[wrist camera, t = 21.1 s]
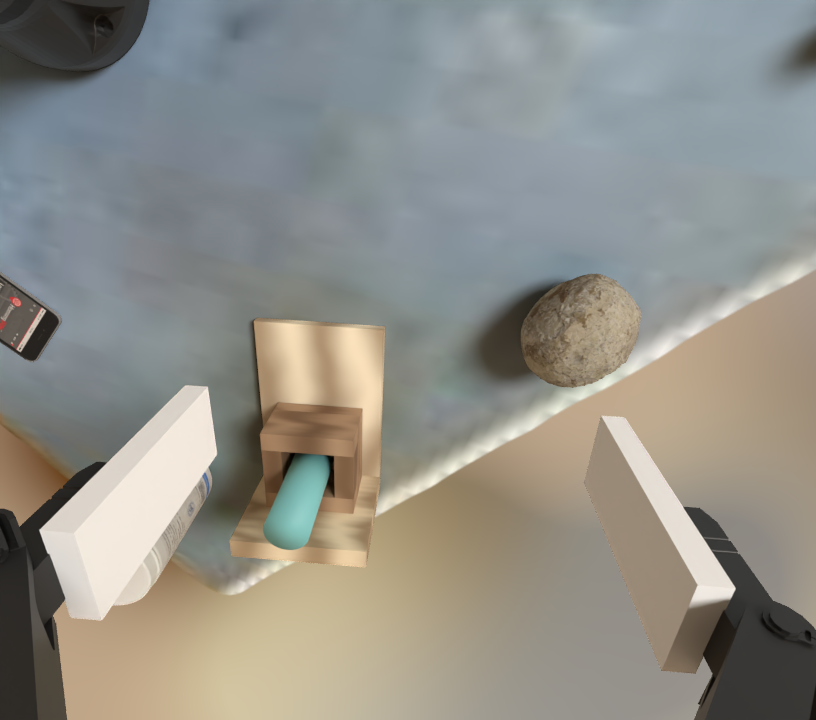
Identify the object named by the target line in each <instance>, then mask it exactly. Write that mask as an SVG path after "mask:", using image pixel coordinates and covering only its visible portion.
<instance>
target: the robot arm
mask: <svg viewBox="0 0 816 720" xmlns="http://www.w3.org/2000/svg"><path fill="white" fill-rule="evenodd" d="M148 6H149V0H0V45H1V46H2V47H4V48H5V49H7V50H8V51H10V52H12V53H13V54H15V55H17V56H19V57H21V58H23V59H26V60H28V61H30V62H33V63H36V64H39V65H42V66H46V67H51V68H56V69H62V70H68V71H91V70H96V69H100V68H103V67H105V66H108V65H110V64H112V63H113V62H115V61H116V60H118V59H119V58H120V57H122V56H123V55H124V54H125V53H126V52H127V51H128V50H129V49H130V47H131V46H132V45H133V43H134V42H135V41H136V39H137V37H138V35H139V33H140V31H141V29H142V27H143V24H144V22H145V18H146V15H147V10H148ZM216 455H217V449H216V442H215V435H214V428H213V421H212V414H211V407H210V400H209V393H208V387H202V386H188V385H185V386H184V387H183V388H182V389H181V390H180V391H179V392H178V393H177V394H176V395H175V396H174V397H173V398H172V399H171V400H170V401H169V402H168V403H167V404H166V405H165V406H164V407H163V408H162V409H161V410H160V411H159V412H158V413H157V414H156V415H155V416H154V417H153V418H152V419H151V420H150V421H149V422H148V423H147V424H146V425H145V426H144V427H143V428H142V429H141V430H140V431H139V432H138V433H137V434H136V435H135V436H134V437H133V438H132V439H131V440H130V441H129V442H128V443H127V444H126V445H125V446H124V447H123V448H122V449H121V450H120V451H119V452H118V453H117V454H116V455H115V456H114V457H113V458H112V459H111V460H110V461H109V462H107V463H104V462H96V463H94V464H92V465H90V466H88V467H87V468H85V469H83V470H81V471H80V472H78V473H76V474H75V475H74V476H73V477H72V478H71V479H70V480H69V481H68V482H67V483H66V484H65V485H64V486H63V489H59V490H58V491H57V492H56V493H55V494H54V495H53V496H52V499H51V500H50V499H49V500H48V501H47V502H46V503H45V504H43V505H42V506H41V507H40V508H39V509H38V510H37V511H36V512H35V513H34V514H33V515H32V516H31V517H30V518H28V519H27V520H26V521H25V522H24V523H23V524H22V525H21V526H20V527H19V525H18V523H17V520H16V517H15V516H14V514H13V512H12V511H9V510H6V509H0V720H67V715H66V706H65V698H64V689H63V681H62V671H61V663H60V654H59V645H58V636H57V628H56V623H55V620H54V617H53V614H54V613H55V611H56V610H57V609H58V608H59V607H60V605H61V604H62V603H63V602H64V601H65V603H66V606H67V609H68V612H69V614H70V617H71V618H80V619H91V620H103V618H104V617H105V615H106V614H107V612H108V611H109V610H110V608H111V607H112V605H113V604H114V602H115V601H116V599H117V598H118V597H119V595H120V594H121V592H122V591H123V589H124V588H125V586H126V585H127V584H128V582H129V581H130V579H131V578H132V576H133V575H134V574H135V572H136V571H137V569H138V568H139V566H140V565H141V563H142V562H143V561H144V559H145V558H146V556H147V555H148V553H149V552H150V550H151V549H152V548H153V546H154V545H155V543H156V542H157V540H158V539H159V537H160V536H161V535H162V533H163V532H164V530H165V529H166V527H167V526H168V524H169V523H170V522H171V520H172V519H173V517H174V516H175V514H176V513H177V511H178V510H179V509H180V507H181V506H182V504H183V503H184V501H185V500H186V499H187V497H188V496H189V494H190V493H191V491H192V490H193V488H194V487H195V486H196V484H197V483H198V481H199V480H200V478H201V477H202V475H203V474H204V473H205V471H206V470H207V468H208V467H209V465H210V464H211V462H212V461H213V460H214V458H215V457H216ZM584 484H585V486H586V489H587V491H588V493H589V496H590V498H591V501H592V503H593V505H594V508H595V510H596V513H597V515H598V518H599V520H600V523H601V525H602V527H603V530H604V532H605V535H606V537H607V539H608V542H609V544H610V547H611V549H612V552H613V554H614V556H615V559H616V561H617V564H618V566H619V569H620V571H621V573H622V576H623V578H624V581H625V583H626V586H627V588H628V590H629V593H630V595H631V598H632V600H633V603H634V605H635V607H636V610H637V612H638V615H639V617H640V619H641V622H642V624H643V627H644V629H645V631H646V634H647V637H648V639H649V641H650V644H651V646H652V649H653V651H654V654H655V656H656V658H657V661H658V663H659V666H660V668H661V670H662V671H672V672H684V673H696V671H697V669H698V667H699V665H700V663H701V661H702V659H703V657H704V658H705V660H706V662H707V663H708V666H709V667H710V669H711V672H712V673H713V675H712V677H711V679H710V681H709V683H708V685H707V687H706V689H705V691H704V693H703V695H702V697H701V699H700V701H699V703H698V704H699V705H700V706H699V709H698V711H697V714H696V716H695V719H694V720H816V630H815V629H814V627H813V626H812V625H811V624H810V623H809V622H808V621H807V620H806V619H804V618H803V616H801V615H800V614H798V613H796V612H795V611H793V610H792V609H790V608H789V607H787V606H785V605H782V604H780V603H777V602H775V601H773V600H772V599H771V597H770V596H769V595H768V593H767V592H766V591H765V589H764V587H763V586H762V585H761V583H760V582H759V581H758V579H757V578H756V576H755V575H754V573H753V572H752V571H751V569H750V568H749V567H748V565H747V564H746V562H745V561H744V559H743V558H742V557H741V555H740V554H738V553H737V552H738V551H737V550H736V548H735V547H734V545H733V544H732V543H731V541H728V537H727V536H726V534H725V533H724V531H723V530H722V528H721V527H720V526H719V524H718V523H717V522H716V521H715V520H714V519H712V518H711V517H710V516H709V515H708V514H706V513H705V512H704V511H703V510H701V509H700V508H691V507H683V506H682V505H681V503H680V502H679V500H678V499H677V497H676V496H675V494H674V493H673V491H672V489H671V488H670V486H669V485H668V483H667V482H666V480H665V479H664V477H663V476H662V474H661V472H660V471H659V469H658V468H657V466H656V465H655V463H654V462H653V460H652V459H651V457H650V456H649V454H648V452H647V451H646V450H645V448H644V446H643V445H642V443H641V442H640V440H639V439H638V437H637V436H636V434H635V432H634V431H633V429H632V428H631V426H630V425H629V423H628V422H627V420H626V419H625V418H624V417H613V416H601V418H600V422H599V426H598V430H597V434H596V438H595V442H594V446H593V450H592V454H591V457H590V461H589V466H588V469H587V473H586V477H585V481H584Z"/></svg>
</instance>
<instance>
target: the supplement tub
mask: <svg viewBox="0 0 816 720" xmlns="http://www.w3.org/2000/svg"><path fill="white" fill-rule="evenodd" d="M211 488H212V476H211V472H210V470H209V468H207V470H206V471H205V473H204V474H203V475H202V477H201V478H200V480H199V481H198V483H197V484H196V486H195V487H194V488H193V490H192V491H191V493H190V494H189V496H188V497H187V499H186V500H185V501H184V503H183V504H182V506H181V507H180V509H179V510H178V511H177V513H176V514H175V516H174V517H173V519H172V520H171V522H170V523H169V524H168V526H167V527H166V529H165V530H164V532H163V533H162V535H161V536H160V537H159V539H158V540H157V542H156V543H155V545H154V546H153V548H152V549H151V550H150V552H149V553H148V555H147V556H146V558H145V559H144V561H143V562H142V563H141V565H140V566H139V568H138V569H137V571H136V572H135V574H134V575H133V576H132V578H131V579H130V581H129V582H128V584H127V585H126V586H125V588H124V589H123V591H122V592H121V594H120V595H119V597H118V598H117V599H116V601H115V602H114V604H113V605H126V604H130V603H134V602H136V601H138V600H140V599H141V598H143V597H144V596H145V595H146V594H147V592H148V591H149V590H150V588H151V586H153V585H154V584H155V582H156V580H157V579H158V577H159V576H160V574H161V573H162V571H163V569H164V568H165V566H166V565H167V563H168V561H169V560H170V558H171V556H172V555H173V553H174V551H175V550H176V548H177V546H178V545H179V543H180V541H181V540H182V538H183V536H184V535H185V533H186V532H187V530H188V528H189V527H190V525H191V523H192V522H193V520H194V518H195V517H196V515H197V513H198V512H199V510H200V508H201V507H202V505H203V503H204V502H205V500H206V498H207V497H208V495H209V493H210V491H211Z"/></svg>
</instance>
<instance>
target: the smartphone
mask: <svg viewBox="0 0 816 720" xmlns="http://www.w3.org/2000/svg"><path fill="white" fill-rule="evenodd" d="M61 323H62V318H61V316H60V315H59V314H58V313H57V312H56V311H54V310H53V309H51V308H50V307H49V306H47V305H46V304H44V303H43V302H42V301H40V300H39V299H38V298H36V297H35V296H33V295H32V294H31V293H29V292H28V291H26V290H25V289H24V288H22V287H21V286H20V285H18V284H17V283H15V282H14V281H13V280H11V279H10V278H8V277H7V276H6V275H4V274H3V273H2V272H0V342H1V343H2V344H4V345H5V346H7V347H8V348H10V349H11V350H13V351H14V352H15V353H17V354H18V355H20V356H21V357H23V358H24V359H26V360H27V361H30V362H34V361H36V360H38V359H39V357H40V356H41V354H42V352H43V351H44V349H45V348H46V346H47V345H48V343H49V341H50V340H51V338H52V337H53V335H54V334H55V332H56V330H57V329H58V327H59V326H60V324H61Z"/></svg>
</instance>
